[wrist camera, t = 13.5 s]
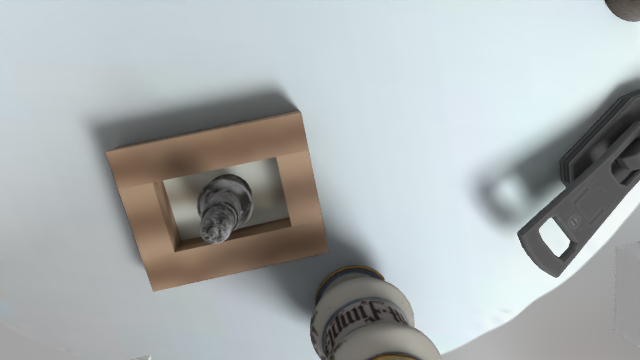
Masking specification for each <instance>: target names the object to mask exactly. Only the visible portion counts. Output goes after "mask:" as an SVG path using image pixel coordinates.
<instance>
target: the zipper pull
mask: <svg viewBox="0 0 640 360" xmlns="http://www.w3.org/2000/svg"><path fill="white" fill-rule="evenodd" d="M560 170H561V181H562V182H563V184H564V185H565V186H566V189H565V190H563V191H562V192H561V193H560V194H559V195H558V196H557V197H556V198H555V199H554V200H552V201H551V202H550V203H549V204H548V205H547V206H546V207H545V208H543V209H542V210H541V211H540V212H539V213H538V214H537V215H536V216H534V217H533V218H532V219H531V220H530V221H529V222H528V223H527V224H526V225H525V226H524V227H522V228H521V229H520V230H519V231H518V232H517V235H518V237H519V240H520V242H521V245H522V247H523V248H524V250H525V252H526V253H527V255H528V256H529V257H530V258H531V260H532V261H533V262H534V263H535V264H536V265H537V266H538V267H539V268H540V269H541V270H543V271H545V272H546V273H548V274H550V275H551V276H553V277H555V278H557V277H559V276H560V274H561V273H562V272H563V271H564V270H565V268H566V267H567V266H568V265H569V264H570V262H571V261H572V260H573V259H574V258H575V256H576V255H577V254H578V253H579V252H580V250H581V249H582V248H583V246H584V245H585V244H586V243H587V242H588V240H589V239H590V238H591V237H592V236H593V234H594V233H595V232H596V231H597V230H598V228H599V227H600V226H601V225H602V223H603V222H604V221H605V220H606V219H607V217H608V216H609V215H610V214H611V213H612V211H613V210H614V209H615V208H616V207H617V205H618V204H619V203H620V202H621V201H622V199H623V198H624V197H625V196H626V195H627V193H628V192H629V191H630V190H631V189H632V188H633V187H634V186H635V185H636V184H637V183H638V181H639V180H640V90H638V91H635V92H632V93H630V94H627V95H625V96H622V97H620V98H619V99H618V100H617V101H616V102H615V103H614V104H613V105H612V106H611V107H610V108H609V110H608V111H607V112H606V113H605V114H604V115H603V116H602V117H601V118H600V119H599V120H598V121H597V122H596V123H595V124H594V125H593V126H592V127H591V128H590V130H589V131H588V132H587V133H586V134H585V135H584V136H583V137H582V138H581V139H580V140H579V141H578V142H577V143H576V144H575V145H574V146H573V147H572V148H571V149H570V150H569V151H568V152H567V153H566V154H565V156H564V157H563V158H562V159H561V160H560ZM551 217H552V218H553V219H554V221H555V222H556V223H557V224H558V226H559V227H560V228H561V229H562V231H563V232H564V233H565V235H566V236H567V237H568V238H569V240H570V244H569V247H568V248H567V249H566V250H565V252H564V253H563V254H562V255H561V256H560V257H557V256H556V255H554V253H553V252H552V251H551V250H550V249H549V247H548V246H547V245H546V244H545V242H544V241H543V240H542V238H541V236H540V233H539V228H540V227H541V226H542V225H543V224H544V223H545V222H546V221H547V220H548V219H549V218H551Z"/></svg>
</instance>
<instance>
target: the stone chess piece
mask: <svg viewBox="0 0 640 360" xmlns="http://www.w3.org/2000/svg"><path fill="white" fill-rule="evenodd" d="M197 211H198V215H199V216H200V218H201V223H200V226H199V232H200V235H201V237H202V238H203V239H204V240H205V241H206V242H208V243H211V244H218V243H221V242H223V241H225V240H226V239H227V238H228V237H229V235H230V233H231V232H232V231H235V230H237V229H239V228H241V227H242V226H244V225H245V224H246V223H247V222H248V220H249V219H250V217H251V214H252V212H253V201H252V191H251V188H250V186H249V184H248V183H247V182H246V181H245V180H244V179H242V178H241V177H239V176H236V175H232V174H225V175H220V176H218V177H216V178H215V179H213V180H212V181H211V182H210V183H208V184H207V185H206V186H205V187H204V188H203V189H202V190H201V192H200V193H199V196H198V199H197Z"/></svg>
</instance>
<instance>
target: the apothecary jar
mask: <svg viewBox="0 0 640 360" xmlns="http://www.w3.org/2000/svg"><path fill="white" fill-rule="evenodd" d="M315 306H316V308H315V310H314V312H313V315H312V318H311V324H310V336H311V341H312V344H313V347H314V349H315V351H316V353H317V354H318V356H319V357H320V358H321V360H442V358H441V356H440V353H439V351H438V350H437V348H436V346H435V345H434V344H433V343H432V341H431V340H430V339H429V338H428V337H427V336H426V335H424V334H423V333H422V332H420V331H419V330H417V329H415V328H414V315H413V310H412V308H411V305H410V303H409V301H408V300H407V298H406V297H405V295H404V294H403V293H402V292H401V291H400V290H399V289H398V288H396V287H395V286H393V285H392V284H390V283H388V282H386V281H384V277H383V276H382V275H381V274H379V273H378V272H377V271H375V270H373V269H371V268H368V267H364V266H349V267H344V268H341V269H339V270H337V271H335V272H333V273H332V274H331V275H329V276H328V277H327V278H326V279H325V280H324V281H323V283H322V284H321V286H320V287H319V289H318V292H317V295H316V302H315Z"/></svg>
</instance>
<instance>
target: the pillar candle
mask: <svg viewBox="0 0 640 360" xmlns="http://www.w3.org/2000/svg"><path fill="white" fill-rule="evenodd" d="M605 1H606V3H607V5H608V7H609V8H610V10H611V11H612V12H613V13H614V14H615V15H616V16H618V17H619V18H621V19H623V20H626V21H633V22H636V21H640V0H605Z"/></svg>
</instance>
